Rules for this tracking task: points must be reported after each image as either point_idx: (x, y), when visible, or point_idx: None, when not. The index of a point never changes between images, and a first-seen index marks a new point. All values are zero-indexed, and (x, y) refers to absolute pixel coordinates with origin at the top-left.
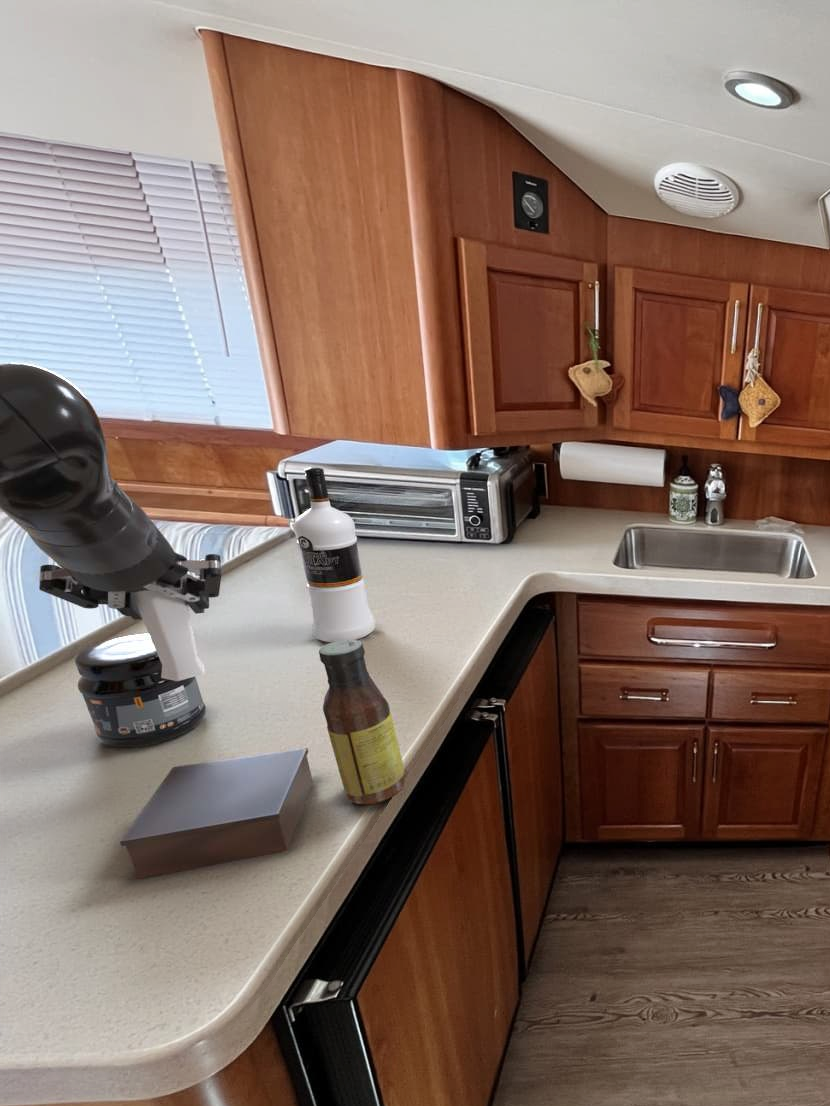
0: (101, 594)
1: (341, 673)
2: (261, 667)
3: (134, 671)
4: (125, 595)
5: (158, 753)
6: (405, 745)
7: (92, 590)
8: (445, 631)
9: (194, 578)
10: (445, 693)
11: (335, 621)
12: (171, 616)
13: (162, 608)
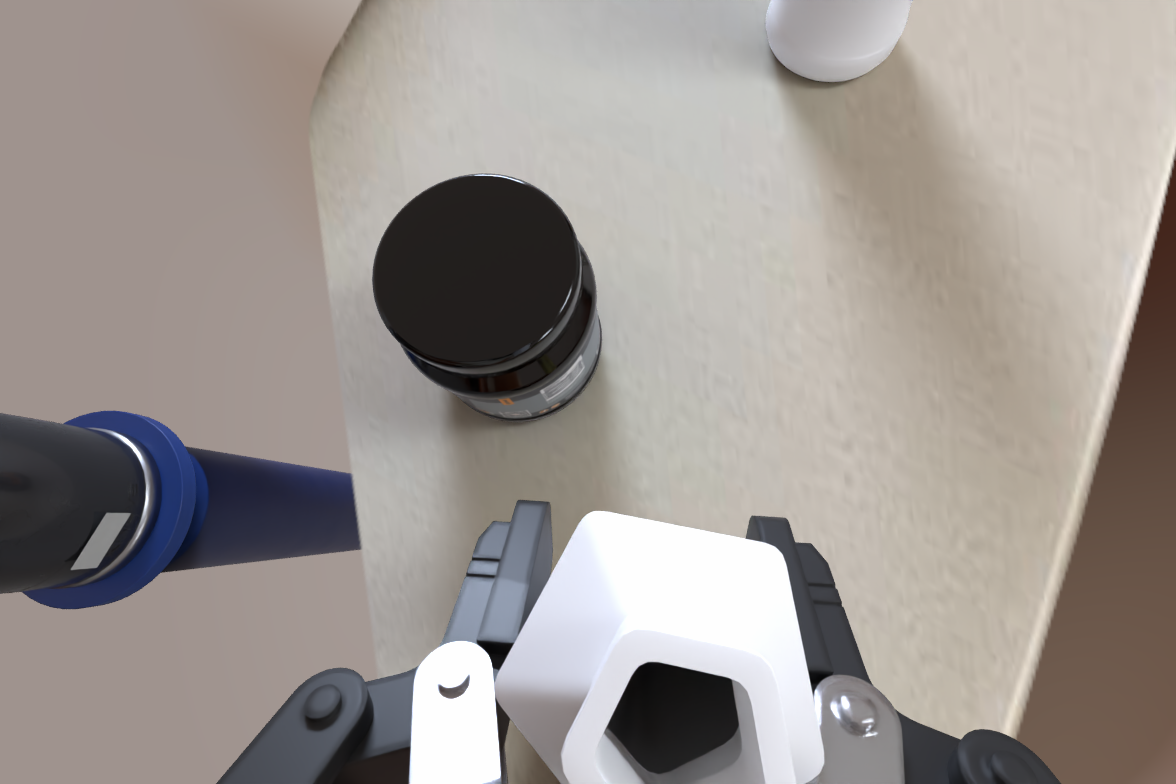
0: (394, 774)
1: None
2: (672, 149)
3: (497, 373)
4: (502, 715)
5: (539, 453)
6: (1006, 668)
7: (343, 778)
8: (1062, 94)
9: (901, 779)
10: (1085, 442)
11: (840, 32)
12: (676, 698)
13: (658, 734)
